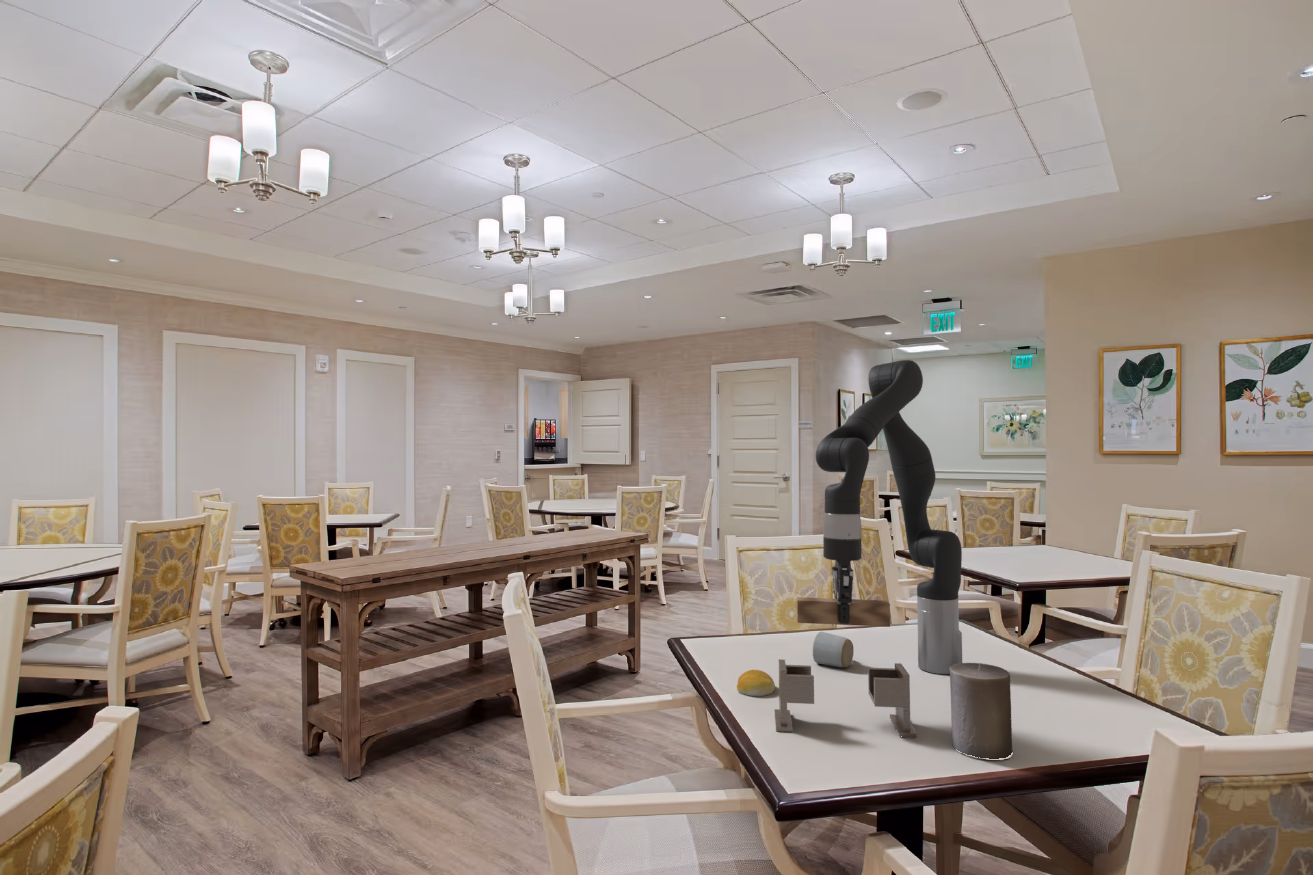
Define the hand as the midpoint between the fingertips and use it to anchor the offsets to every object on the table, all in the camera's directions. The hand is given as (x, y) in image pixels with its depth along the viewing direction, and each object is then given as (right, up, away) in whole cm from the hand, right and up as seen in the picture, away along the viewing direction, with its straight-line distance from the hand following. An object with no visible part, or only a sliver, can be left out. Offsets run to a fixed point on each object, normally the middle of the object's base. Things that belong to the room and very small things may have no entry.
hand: (842, 620), depth 138 cm
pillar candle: (+19, -17, -20) cm, 32 cm away
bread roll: (-16, -19, +12) cm, 27 cm away
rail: (0, 0, 0) cm, 0 cm away
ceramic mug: (+6, -19, +30) cm, 36 cm away
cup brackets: (-2, -18, -9) cm, 20 cm away
